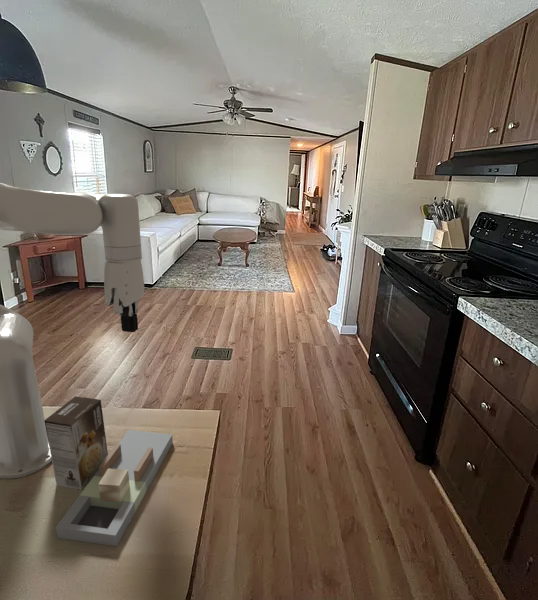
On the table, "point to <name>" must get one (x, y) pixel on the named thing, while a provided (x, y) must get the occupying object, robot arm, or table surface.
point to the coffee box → (77, 441)
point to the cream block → (114, 485)
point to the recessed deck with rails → (117, 515)
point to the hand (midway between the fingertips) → (130, 330)
